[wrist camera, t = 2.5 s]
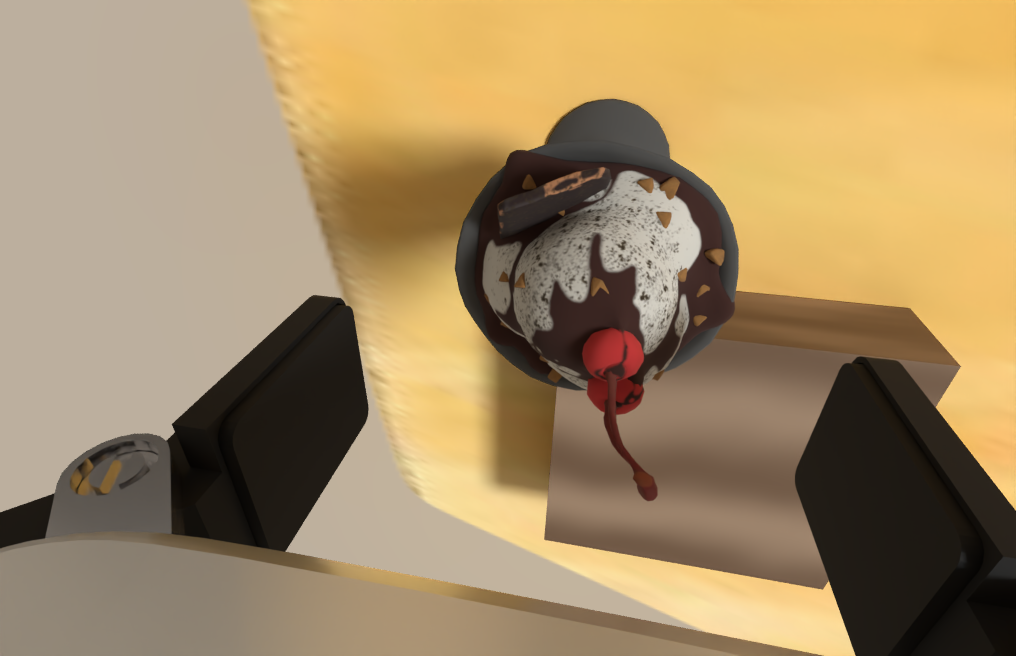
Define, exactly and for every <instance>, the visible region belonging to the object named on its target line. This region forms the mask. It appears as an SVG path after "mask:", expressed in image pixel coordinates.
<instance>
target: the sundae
mask: <svg viewBox="0 0 1016 656" xmlns="http://www.w3.org/2000/svg"><path fill="white" fill-rule="evenodd" d="M455 272H456V277H457V282H458V286H459V291H460V294H461V296H462V299H463V302H464V304H465V307H466V308H467V310H468V312H469V313H470V315H471V316H472V318H473V320H474V321H475V323H476V324H477V325H478V327H479V328H480V330H481V331H482V332H483V334H484V335H485V336H486V338H487V339H488V340H489V341H490V342H491V344H492V345H493V346H494V347H495V349H496V350H497V351H498V352H499V353H500V354H502V355H503V356H504V357H505V358H506V359H507V360H508V361H509V362H511V363H512V364H513V365H514V366H516V367H517V368H519V369H520V370H522V371H523V372H524V373H526V374H527V375H529V376H530V377H532V378H534V379H537V380H540V381H542V382H545V383H547V384H550V385H553V386H557V387H561V388H566V389H571V390H575V391H582V390H587V395H588V397H589V399H590V400H591V402H592V403H593V404H594V405H595V406H596V407H597V408H598V409H599V410H600V411H602V412H604V417H603V418H604V425H605V428H606V431H607V433H608V436H609V438H610V441H611V444H612V445H613V447H614V448H615V449H616V451H617V452H618V453H619V455H620V456H621V457H622V458H623V459H624V460H625V461H626V462H627V463H629V464H630V466H631V467H632V469H633V472H634V476H633V480H634V481H635V482H636V484H637V489H638V492H639V494H640V495H641V496H642V498H643V499H645V500H646V501H653V500H654V499H656V497H657V496H658V488H657V485H656V483H655V480H654V477H653V476H651V475H649V474H648V473H647V472H645V471H644V470H643V469H642V467H641V466H640V465H639V464H638V463H637V462H636V461H635V460H634V459H633V457H632V456H631V455H630V454H629V452H628V451H627V450H626V448H625V447H624V445H623V443H622V440H621V437H620V434H619V430H618V425H617V419H616V415H621V414H626V413H628V412H630V411H632V410H634V409H635V408H636V407H637V406H638V405H639V404H640V403H641V401H642V397H643V394H644V388H643V385H645V384H646V383H648V382H649V381H650V380H652V379H654V380H656V381H658V380H659V379H660V377H661V376H662V374H663V373H664V372H667V371H669V370H672V369H675V368H677V367H678V366H680V365H682V364H683V363H685V362H687V361H688V360H690V359H692V358H693V357H694V356H696V355H697V354H698V353H699V352H700V351H702V350H703V349H704V348H705V347H707V346H708V345H709V344H710V343H711V342H712V340H713V339H714V337H715V336H716V334H717V333H718V332H719V330H720V329H721V327H722V326H723V324H724V323H726V322H727V321H728V320H729V319H730V318H731V317H732V316H733V314H734V311H735V301H734V300H735V293H736V286H737V279H738V245H737V240H736V236H735V232H734V227H733V224H732V222H731V220H730V217H729V215H728V213H727V211H726V208H725V206H724V205H723V203H722V202H721V200H720V199H719V198H718V196H717V195H716V194H715V192H714V191H713V189H712V188H711V187H710V186H709V185H707V184H706V183H705V182H704V181H702V180H701V179H700V178H699V177H697V176H696V175H695V174H694V173H692V172H691V171H689V170H687V169H686V168H684V167H683V166H681V165H679V164H678V163H676V162H674V161H673V160H671V159H670V153H669V144H668V142H667V139H666V136H665V134H664V132H663V130H662V128H661V126H660V125H659V123H658V122H657V121H656V120H655V119H654V118H653V117H652V116H651V115H650V114H649V113H648V112H647V111H645V110H644V109H642V108H641V107H640V106H638V105H635V104H632V103H629V102H627V101H622V100H617V99H605V100H597V101H593V102H588V103H586V104H584V105H582V106H580V107H578V108H576V109H575V110H573V111H572V112H570V113H569V114H568V115H566V116H565V117H564V118H563V119H562V120H561V122H560V123H559V124H558V125H557V126H556V128H555V129H554V131H553V133H552V134H551V136H550V137H549V140H548V143H547V144H546V145H543V146H540V147H538V148H535V149H532V150H529V151H526V150H516V151H514V152H512V153H510V155H509V157H508V159H507V162H506V165H505V166H504V167H503V168H502V169H501V170H500V171H499V172H498V173H497V174H495V175H494V176H493V177H492V178H491V179H490V180H489V182H488V183H487V185H486V186H485V187H484V189H483V190H482V192H481V193H480V194H479V196H478V197H477V198H476V200H475V202H474V204H473V206H472V207H471V209H470V211H469V213H468V215H467V217H466V218H465V220H464V222H463V225H462V229H461V233H460V237H459V241H458V245H457V253H456V264H455Z"/></svg>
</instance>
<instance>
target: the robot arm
mask: <svg viewBox="0 0 1016 656" xmlns="http://www.w3.org/2000/svg"><path fill="white" fill-rule="evenodd" d="M367 417H368V401H367V395H366V389H365V383H364V376H363V370H362V364H361V358H360V352H359V346H358V339H357V333H356V327H355V321H354V315H353V311H352V309H351V307H350V306H346V305H345V302H344V301H343V300H342V299H341V298H335V297H327V296H317V295H313V296H311V297H310V298H309V299H307V300H306V301H305V302H304V303H303V304H302V305H301V306H300V307H299V308H298V309H297V310H296V311H294V312H293V313H292V314H291V315H290V316H289V317H288V318H287V319H286V320H285V321H283V322H282V323H281V324H280V325H279V326H278V327H277V328H276V329H275V330H274V331H273V332H272V333H270V334H269V335H268V336H267V337H266V338H265V339H264V340H263V341H262V342H261V343H260V344H258V345H257V346H256V347H255V348H254V349H253V350H252V351H251V352H250V353H249V354H248V355H247V356H245V357H244V358H243V359H242V360H241V361H240V362H239V363H238V364H237V365H236V366H235V367H233V368H232V369H231V370H230V371H229V372H228V373H227V374H226V375H225V376H224V377H223V378H221V379H220V380H219V381H218V382H217V383H216V384H215V385H214V386H213V387H212V388H211V389H210V390H208V391H207V392H206V393H205V394H204V395H203V396H202V397H201V398H200V399H199V400H198V401H197V402H195V403H194V404H193V406H191V407H190V408H189V409H188V410H187V411H186V412H185V413H184V414H183V415H182V416H180V417H179V418H178V419H177V420H176V421H175V422H174V423H173V424H172V426H173V428H174V430H175V433H174V434H173V435H172V436H171V437H170V438H169V439H168V440H167V441H165V440H164V439H163V438H161V437H160V436H157V435H153V434H131V435H127V436H121V437H117V438H115V439H112V440H109V441H106V442H104V443H101V444H99V445H97V446H96V447H93V448H92V449H90V450H88V451H86V452H85V453H83V454H82V455H81V456H79V457H78V458H77V459H75V460H74V461H73V462H72V463H71V464H70V465H69V466H68V467H67V468H66V469H65V470H64V471H63V472H62V474H61V476H60V479H59V481H58V483H57V486H56V490H55V493H54V494H52V495H49V496H46V497H43V498H41V499H37V500H34V501H32V502H29V503H26V504H23V505H20V506H17V507H15V508H12V509H9V510H6V511H3V512H0V656H822V655H817V654H812V653H807V652H802V651H797V650H792V649H787V648H782V647H777V646H772V645H767V644H762V643H757V642H752V641H747V640H742V639H737V638H732V637H726V636H721V635H716V634H711V633H706V632H701V631H696V630H691V629H686V628H681V627H676V626H671V625H665V624H661V623H656V622H651V621H646V620H641V619H635V618H631V617H625V616H620V615H615V614H609V613H605V612H600V611H594V610H589V609H584V608H579V607H574V606H569V605H563V604H558V603H553V602H548V601H543V600H538V599H532V598H527V597H522V596H516V595H512V594H506V593H501V592H496V591H491V590H486V589H481V588H476V587H470V586H465V585H459V584H454V583H449V582H444V581H439V580H434V579H428V578H423V577H418V576H412V575H407V574H401V573H396V572H391V571H386V570H380V569H375V568H369V567H364V566H359V565H354V564H348V563H343V562H337V561H332V560H327V559H322V558H316V557H311V556H305V555H300V554H295V553H289V552H285V551H286V550H287V548H288V546H289V545H290V543H291V542H292V540H293V538H294V537H295V535H296V534H297V532H298V530H299V529H300V527H301V526H302V524H303V522H304V521H305V519H306V518H307V516H308V514H309V513H310V511H311V510H312V508H313V506H314V505H315V503H316V501H317V500H318V498H319V497H320V495H321V493H322V492H323V490H324V489H325V487H326V485H327V484H328V482H329V481H330V479H331V477H332V475H333V474H334V472H335V471H336V469H337V468H338V466H339V465H340V463H341V461H342V460H343V458H344V457H345V455H346V453H347V452H348V450H349V448H350V447H351V445H352V444H353V442H354V440H355V439H356V437H357V436H358V434H359V432H360V431H361V429H362V428H363V426H364V424H365V422H366V420H367ZM795 486H796V490H797V493H798V495H799V498H800V501H801V504H802V507H803V509H804V512H805V515H806V518H807V521H808V523H809V526H810V529H811V532H812V535H813V537H814V540H815V543H816V546H817V549H818V551H819V554H820V557H821V560H822V563H823V565H824V568H825V571H826V574H827V577H828V579H829V582H830V585H831V588H832V591H833V593H834V596H835V599H836V602H837V605H838V607H839V610H840V613H841V616H842V619H843V621H844V624H845V627H846V630H847V633H848V635H849V638H850V641H851V644H852V647H853V649H854V652H855V655H856V656H1016V511H1015V509H1014V508H1013V507H1012V505H1011V504H1010V503H1009V502H1008V500H1007V499H1006V498H1005V496H1004V495H1003V494H1002V493H1001V491H1000V490H999V489H998V487H997V486H996V485H995V484H994V482H993V481H992V480H991V478H990V477H989V476H988V475H987V473H986V472H985V471H984V469H983V468H982V467H981V466H980V464H979V463H978V462H977V460H976V459H975V458H974V457H973V455H972V454H971V453H970V451H969V450H968V449H967V448H966V446H965V445H964V444H963V442H962V441H961V440H960V439H959V437H958V436H957V435H956V433H955V432H954V431H953V430H952V428H951V427H950V426H949V424H948V423H947V422H946V421H945V419H944V418H943V417H942V415H941V414H940V413H939V412H938V410H937V409H936V408H935V406H934V405H933V404H932V403H931V401H930V400H929V399H928V397H927V396H926V395H925V394H924V392H923V391H922V390H921V388H920V387H919V386H918V385H917V383H916V382H915V381H914V379H913V378H912V377H911V376H910V374H909V373H908V372H907V370H906V369H905V368H904V367H903V365H902V364H901V363H900V362H899V361H896V360H890V359H881V358H872V357H863V356H860V357H857V358H856V359H855V360H854V361H853V362H852V363H845V364H844V365H842V367H841V368H840V370H839V372H838V375H837V377H836V379H835V381H834V384H833V386H832V388H831V391H830V393H829V395H828V397H827V400H826V402H825V404H824V407H823V409H822V411H821V413H820V416H819V418H818V420H817V423H816V425H815V427H814V429H813V432H812V434H811V436H810V438H809V441H808V443H807V445H806V448H805V450H804V452H803V454H802V457H801V459H800V461H799V464H798V466H797V468H796V472H795Z"/></svg>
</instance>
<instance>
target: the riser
mask: <svg viewBox="0 0 1016 656" xmlns="http://www.w3.org/2000/svg"><path fill="white" fill-rule="evenodd" d="M734 301H735V311H734V314H733V316H732V317H731V318H730V319H729V320H728V321H727V322H726V323H724V324H723V326H722V327H721V329H720V330H719V332H718V333H717V334H716V336H715V337H714V339H713V340H712V342H711V343H710V344H709V345H708V346H707V347H705V348H704V349H703V350H702V351H700V352H699V353H698V354H697V355H696V356H694V357H693V358H692V359H690V360H688V361H687V362H685V363H683V364H682V365H680V366H678V367H677V368H675V369H672V370H669V371H667V372H664V373H663V374H662V376H661V377H660V379H659V380H658V381H656V380H654V379H652V380H650V381H649V382H648V383H646V384H645V385H643V388H644V394H643V397H642V401H641V403H640V404H639V405H638V406H637V407H636V408H635V409H634V410H632V411H630V412H628V413H626V414H621V415H616V419H617V425H618V430H619V434H620V437H621V440H622V443H623V445H624V447H625V448H626V450H627V451H628V452H629V454H630V455H631V456H632V457H633V459H634V460H635V461H636V462H637V463H638V464H639V465H640V466H641V467H642V469H643V470H644V471H645V472H647V473H648V474H649V475H651V476H653V477H654V480H655V483H656V485H657V488H658V496H657V497H656V499H654V500H653V501H646V500H645V499H643V498H642V496H641V495H640V494H639V492H638V489H637V484H636V482H635V481H634V480H633V476H634V472H633V469H632V467H631V466H630V464H629V463H627V462H626V461H625V460H624V459H623V458H622V457H621V456H620V455H619V453H618V452H617V451H616V449H615V448H614V447H613V445H612V444H611V441H610V438H609V436H608V433H607V431H606V428H605V425H604V418H603V417H604V412H602V411H600V410H599V409H598V408H597V407H596V406H595V405H594V404H593V403H592V402H591V400H590V399H589V397H588V395H587V390H582V391H575V390H571V389H566V388H561V387H557V392H556V404H555V416H554V429H553V441H552V453H551V465H550V477H549V489H548V501H547V513H546V526H545V538H544V540H549V541H555V542H560V543H566V544H571V545H577V546H583V547H588V548H594V549H599V550H605V551H611V552H616V553H622V554H627V555H633V556H639V557H644V558H650V559H655V560H661V561H667V562H672V563H678V564H683V565H689V566H694V567H700V568H706V569H711V570H717V571H722V572H728V573H734V574H739V575H745V576H750V577H756V578H762V579H767V580H773V581H778V582H784V583H790V584H795V585H801V586H806V587H812V588H818V589H823V588H824V587H825V585H826V584H827V582H828V580H829V579H828V577H827V574H826V571H825V568H824V565H823V563H822V560H821V557H820V554H819V551H818V549H817V546H816V543H815V540H814V537H813V535H812V532H811V529H810V526H809V523H808V521H807V518H806V515H805V512H804V509H803V507H802V504H801V501H800V498H799V495H798V493H797V490H796V486H795V472H796V468H797V466H798V464H799V461H800V459H801V457H802V454H803V452H804V450H805V448H806V445H807V443H808V441H809V438H810V436H811V434H812V432H813V429H814V427H815V425H816V423H817V420H818V418H819V416H820V413H821V411H822V409H823V407H824V404H825V402H826V400H827V397H828V395H829V393H830V391H831V388H832V386H833V384H834V381H835V379H836V377H837V375H838V372H839V370H840V368H841V367H842V365H844V364H845V363H852V362H853V361H854V360H855V359H856V358H857V357H860V356H863V357H872V358H881V359H890V360H896V361H899V362H900V363H901V364H902V365H903V367H904V368H905V369H906V370H907V372H908V373H909V374H910V376H911V377H912V378H913V379H914V381H915V382H916V383H917V385H918V386H919V387H920V388H921V390H922V391H923V392H924V394H925V395H926V396H927V397H928V399H929V400H930V401H931V403H932V404H933V405H934V406H935V407H936V406H937V404H938V403H939V401H940V399H941V398H942V396H943V394H944V393H945V391H946V390H947V388H948V386H949V385H950V383H951V381H952V380H953V378H954V377H955V375H956V373H957V372H958V370H959V369H960V367H961V366H960V365H959V364H958V363H957V362H956V360H955V359H954V358H953V357H952V356H951V355H950V354H949V352H948V351H947V350H946V349H945V348H944V347H943V346H942V344H941V343H940V342H939V341H938V340H937V339H936V338H935V336H934V335H933V334H932V333H931V332H930V331H929V330H928V328H927V327H926V326H925V325H924V324H923V323H922V322H921V320H920V319H919V318H918V317H917V316H916V315H915V314H914V312H913V311H912V310H911V309H910V308H899V307H889V306H879V305H869V304H859V303H849V302H839V301H829V300H819V299H809V298H799V297H789V296H779V295H769V294H758V293H748V292H738V291H736V293H735V300H734Z"/></svg>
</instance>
